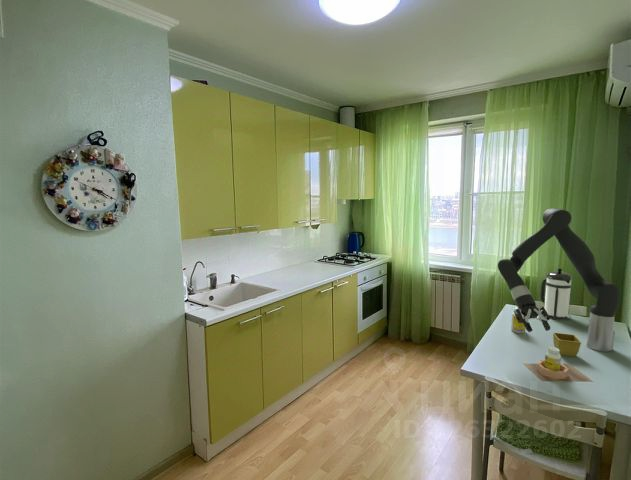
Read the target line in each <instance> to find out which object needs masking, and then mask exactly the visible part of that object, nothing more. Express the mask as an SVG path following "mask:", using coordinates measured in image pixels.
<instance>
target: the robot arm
mask: <svg viewBox="0 0 631 480" xmlns="http://www.w3.org/2000/svg"><path fill="white" fill-rule="evenodd" d="M571 221H572V214H571V212H569V211H568V210H566V209H563V208H556V207H555V208H552V207H551V208H548V209H546V210H545V211H544V212H543V213H542V222H543V224H544V225H543V226H542V227H541V228H540V229H538V230H537V232H534V233H533V234H532V235H530V236H528V237H527V238H525V239H524V240H523V241H522V242H520V243H519V244H518V245H517V247H515V249H513V250H512V253H511V257H510V258H509V259H508V258H501V259H500V260H499V261H498V263H497V270H498V272H499V273H500V274H501V276H502V277H503V279H504V281H505V283H506V285H507V287H508V290H509V291H510V293H511V296H512V299H513V301H514V302H515V305H516V307H518V309H516V310H515V309H514V310H513V312H514V314H515V316H516V318H517V321H518V323H523V324H524V326H525V331H527V332H528V333H532V332H533V328H532V326H531V324H530V322H529V320H531V319H534V320H535V319H536V320H537V321H539V322H540V323H541V324H542V326H543V328H544V330H545V331H546V332H547V331H548V332H549V331H550V330H551V326H550V324H549V322H548V321H549V320H551V317H550V315H548V313H547V312H546V310H545V308H544V306H541V307H537V304H536V301H535V298H534V297H533V295H532V293H531V292H530V290H529V288H528V287H527V285H526V283H525V282H524V279H523V278H522V277H521V276H520V275H519V273H518V272H519V271H520V270H521V268H522V266H523V265H524V264H525V262H526V261H527V260H528V259H529V258H530V257H531V256H532V255H533V254H534V253H535V252H536V251H537V250H539V248H540V247H542V245H544V244H545V243H546V242H548V241H550V240H551V238H553V237H555V239H556V240H557V241H558V243H559V245H560V247H561V248H562V250H563V251H564V253H565V255H566V256H567V258H568V260H569V261H570V262H571V264H572V265H573V267H574V268H575V270H576V271H577V273H578V274H579V276H581V279H582V280H583V282H584V284H585V287H586V289H587V290H588V292H589V294H590V295H591V296H592V297H594V298H596V299H597V300H596V304H595V305H591V306H590V308H589V318H588V319H589V320H588V329H587V339H586V346H587V347H588V348H590V349H592V350H594V351H597V352H604V353H605V352H607V353H608V352H610V351H614V344H615V337H616V336H615V335H616V331H615V330H614V326H615V317H616V314H617V311H618V309H619V305H620V300H621V290H620V287H619V286H618V285H616V284H615V283H613V282H609V281H607V280H605V278H604V277H603V276H602V275H601V274H600V272H599V271H598V269H597V265H596V259H595V256H594V254H593V252H592V250H591V249H590V248H589V246H588V245H587V243H585V241H584V240H583V239H582V238H580V236H578V235H577V234H576V233H575V232H574V231H573V230H572V229H571V228H570V226H569V225H570V224H571ZM519 309H520V310H519ZM521 314H523V317H522V315H521Z"/></svg>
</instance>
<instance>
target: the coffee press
mask: <svg viewBox="0 0 631 480" xmlns="http://www.w3.org/2000/svg"><path fill="white" fill-rule="evenodd" d="M545 277H546V279H543V281H542V282H541V286H540V287H541V288H540V289H541V290H540V300H541V302H542V303H543V307H544V308H545V310H546V312H547V313H548V315H549V317H550V316H552V317H553V318H552V320H553V321H557V318H567V320H571V319H572V317H571V315H570V314H569V312H570V305H571V303H570V302H571V296H572V295H571V293H572V281H573V277H572V275H571V274H570V273H567V272H565V271H563V269H562V268H561V267H559V268H557V271H556V270H555V271H554V270H553V271H549V272H548V273H547V274H546V276H545ZM568 316H569V317H568Z"/></svg>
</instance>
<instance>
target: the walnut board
mask: <svg viewBox="0 0 631 480" xmlns="http://www.w3.org/2000/svg"><path fill="white" fill-rule="evenodd" d="M562 364H563V365H565V366H566V367H567V368H568V369H569V370H568V376H567V378H566V379H552V378H549V377H546V376H543V375H542V374H541V373H539V372H538V371H537V363H523V366H525V367H526V369H528V371H530V372H531V373H532V374H533V375H535V376H536V377H537V378H538V380H540V381H541V382H594V381H593V380H592V379H591V378H589V377H588V376H587V375H586V374H584V373H583V372H581V371H580V370H579V369H577V368H576V367H575V366H573V365H572V364H571V363H562Z"/></svg>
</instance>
